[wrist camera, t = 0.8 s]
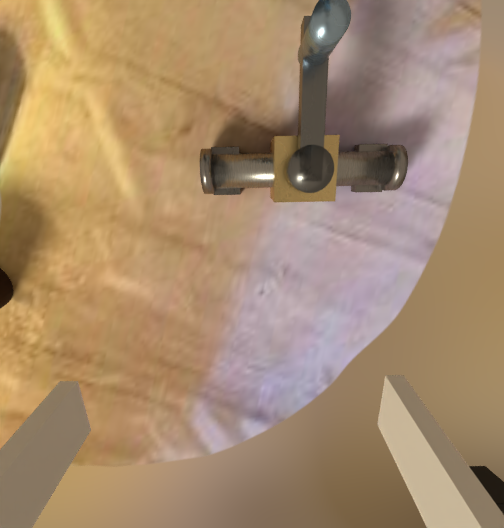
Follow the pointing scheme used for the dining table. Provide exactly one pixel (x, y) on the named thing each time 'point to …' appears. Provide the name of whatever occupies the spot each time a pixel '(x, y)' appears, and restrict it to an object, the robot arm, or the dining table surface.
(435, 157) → the dining table surface
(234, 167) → the pipe valve
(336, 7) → the lever
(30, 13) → the dining table surface
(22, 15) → the dining table surface
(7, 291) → the coffee mug
